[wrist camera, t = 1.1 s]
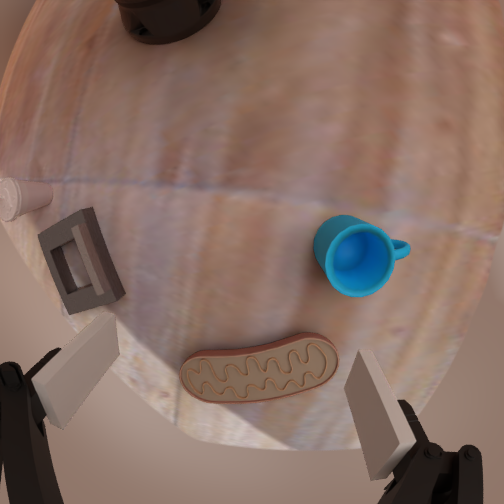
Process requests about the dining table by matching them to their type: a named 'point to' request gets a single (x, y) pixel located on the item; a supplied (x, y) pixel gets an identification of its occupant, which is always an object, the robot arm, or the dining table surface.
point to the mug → (356, 255)
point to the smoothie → (22, 197)
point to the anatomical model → (260, 370)
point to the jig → (94, 259)
